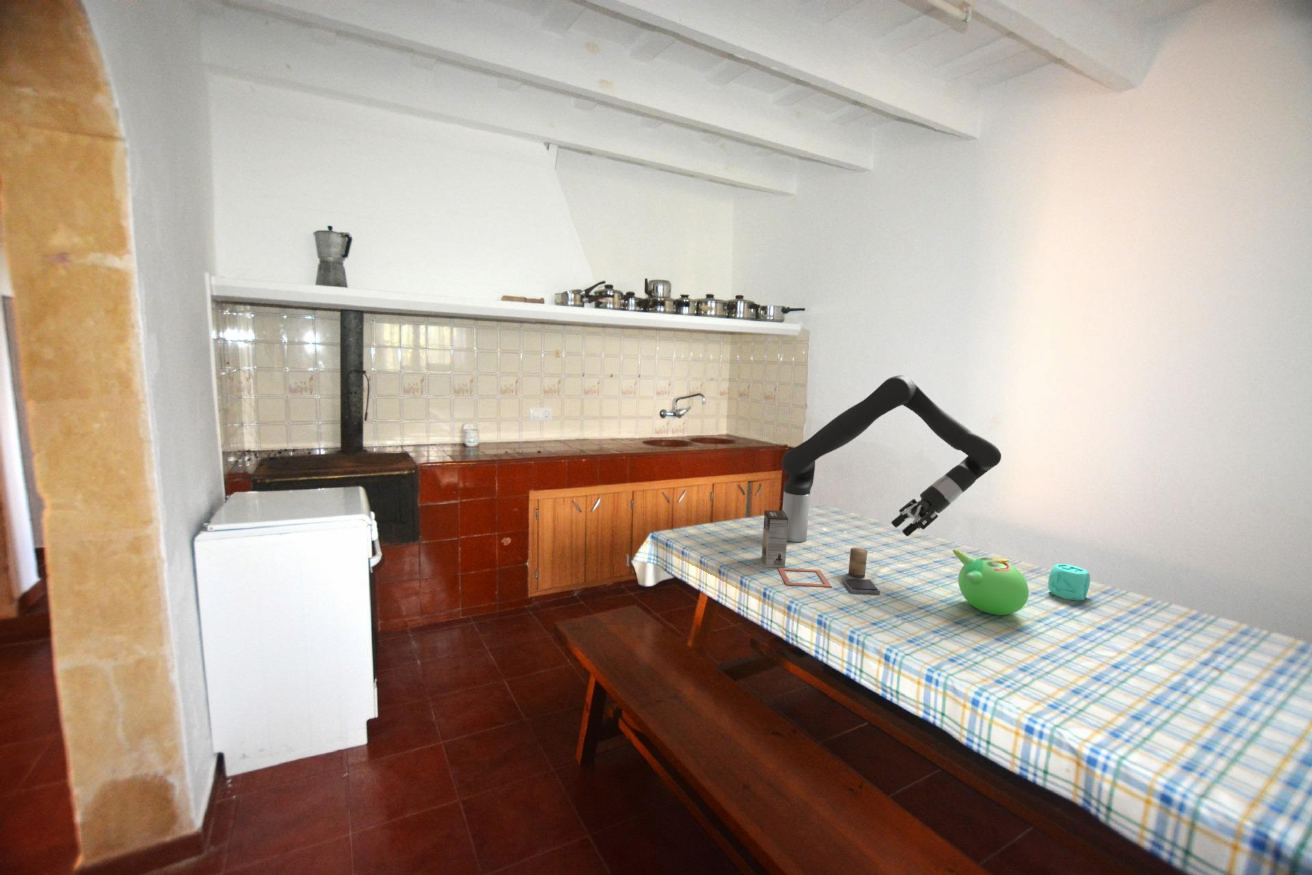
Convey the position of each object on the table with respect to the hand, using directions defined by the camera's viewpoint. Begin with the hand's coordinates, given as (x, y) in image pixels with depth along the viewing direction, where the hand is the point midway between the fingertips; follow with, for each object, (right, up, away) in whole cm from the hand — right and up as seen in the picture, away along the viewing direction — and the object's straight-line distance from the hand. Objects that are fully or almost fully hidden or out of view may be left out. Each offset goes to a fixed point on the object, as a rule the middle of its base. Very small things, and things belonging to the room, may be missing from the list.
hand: (898, 529), depth 172 cm
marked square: (-29, -14, -1) cm, 32 cm away
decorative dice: (+46, -18, -7) cm, 50 cm away
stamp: (-12, -14, +2) cm, 19 cm away
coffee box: (-36, -12, +11) cm, 39 cm away
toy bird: (+15, -19, -19) cm, 31 cm away
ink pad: (-14, -16, -8) cm, 22 cm away
